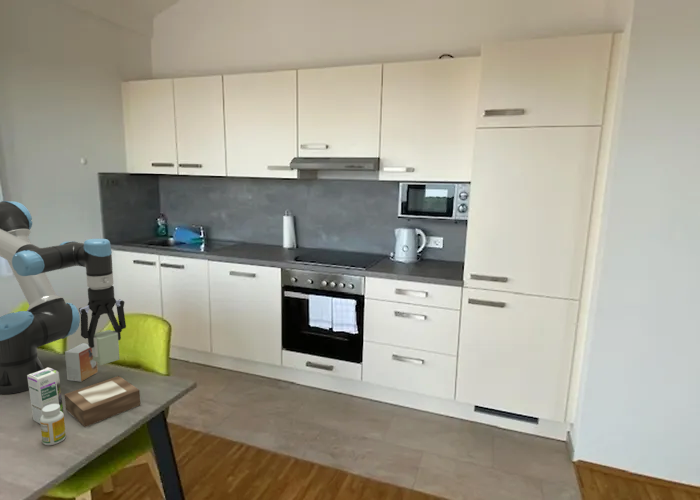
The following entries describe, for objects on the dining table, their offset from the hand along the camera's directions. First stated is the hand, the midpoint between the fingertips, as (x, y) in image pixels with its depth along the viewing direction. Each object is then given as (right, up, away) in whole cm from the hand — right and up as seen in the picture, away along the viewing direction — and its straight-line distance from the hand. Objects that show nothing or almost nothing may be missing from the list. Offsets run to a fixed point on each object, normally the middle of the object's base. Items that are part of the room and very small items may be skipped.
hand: (105, 352), depth 153 cm
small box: (-11, -10, +6) cm, 16 cm away
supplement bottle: (+2, -17, -30) cm, 34 cm away
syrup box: (-6, -15, -20) cm, 26 cm away
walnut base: (+6, -14, -13) cm, 20 cm away
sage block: (0, -2, 0) cm, 2 cm away
